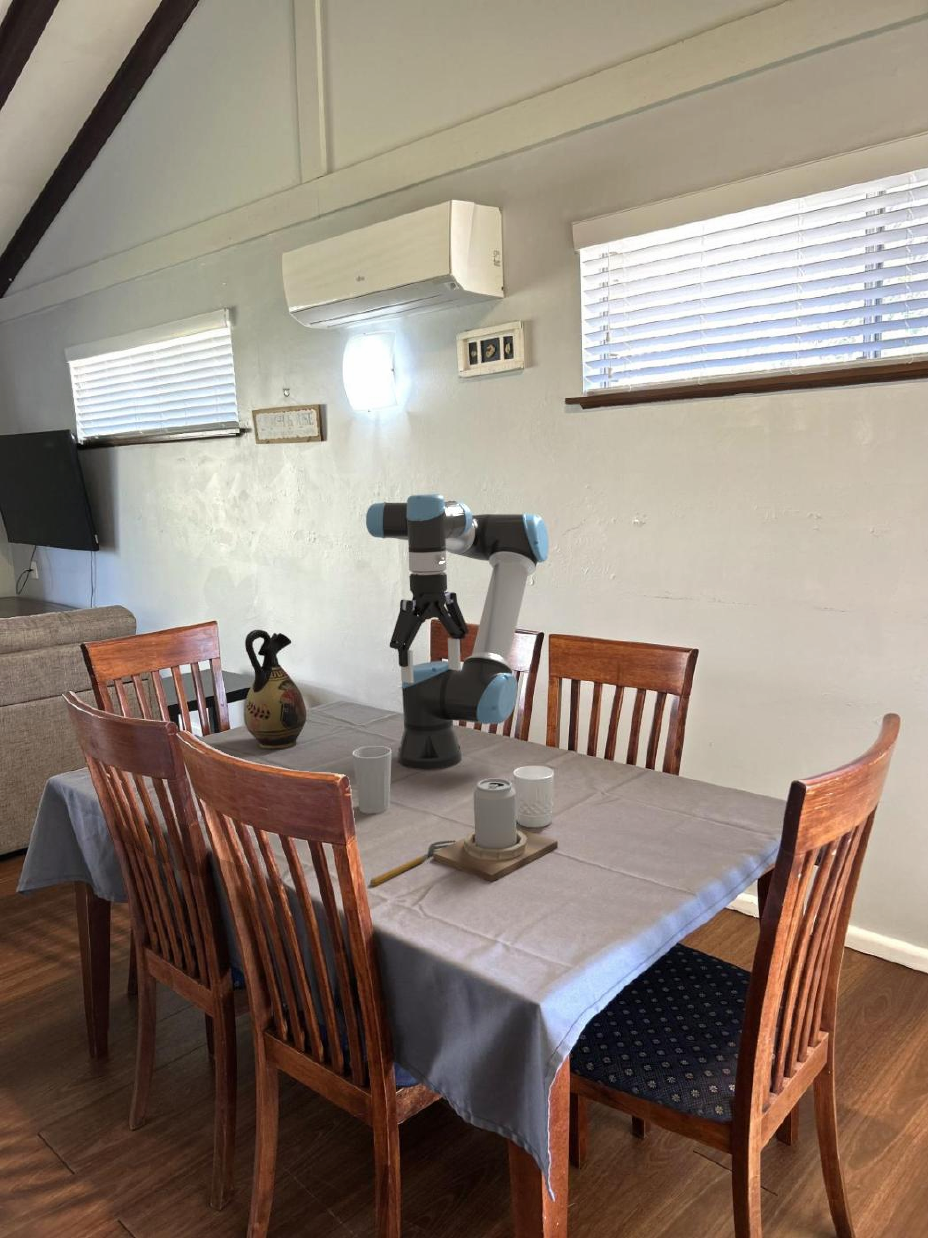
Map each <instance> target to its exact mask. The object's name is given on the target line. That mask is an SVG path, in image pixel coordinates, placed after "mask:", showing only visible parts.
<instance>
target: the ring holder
mask: <svg viewBox="0 0 928 1238" xmlns="http://www.w3.org/2000/svg"><path fill="white" fill-rule="evenodd" d="M516 831H517V843H516V845H515V846H513V847H511V848H505V849H499V850H495V849H483V848H480V847H478V846H477V845H476V844H475V830H473V831H471V832H469V833H467V834H466V836H465V837H464V838H462V839H459V840H458V841H456V842H453V843H450V844H448V845H449V846H447V847H444V848H441V849H440V850H439V849H437V850H438V851H436V852H434V853H432V858H433V860H435V861H437V862H440V863H442V864H445V865H448V866H451V867H454V868H456V869H458V870H461V871H464V872H465V873H468V874H471V875H474V876H476V877H479V878H482V879H484V880H487V881H490V882H494V881H496V880H499V879H500V878H502V877H504V876H506V875H508V874H510V873H511V872H513V871H515V870H517V869H519V868H521V867H523V866H524V865H527V864H528V863H531V862H532V861H534V860H537V859H538V858H540V857H542V856H544V855H546V854H548V853H549V852H551V851H553V850H555V849H558V844H559V843H558V840H555V839H553V838H549V837H546V836H543V835H540V834H537V833H533V832H530V831H528V830H524V829H523V828H522V829H521V828H519V827H516Z"/></svg>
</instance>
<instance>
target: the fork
mask: <svg viewBox="0 0 928 1238" xmlns="http://www.w3.org/2000/svg"><path fill="white" fill-rule="evenodd" d="M455 842H457V841H456V840H443V841H442V840H441V841H434V842H432V843H430V844H429V847H428V850H427V851H426V852H427V853H424V854H423V855H420V856H418V857H416V858H414V859H412V860H409V861H407V862H406V863H402V864H401V865H399V866H397V867H395V868H393V869H390V870H388V871H386V872H384V873H381V874H380V875H379V874H378V875H377V876H375V877H373V878H371V879H370V886H371V887H377V886H378V885H381V884H383V883H385V882H386V881H388V880H390V879H392V878H394V877H396V876H398V875H399V874H400V875H401V873H405V872H406V871H407V870H409V869H411V868H413V867H415V866H417V865H419V864H420V863H422V862H424V861H426V860H427V859H428V857H430V855H433V853H434V852H436V851H438V850H440V849H442V848H444V847H447V846H449V845H450V844H453V843H455Z"/></svg>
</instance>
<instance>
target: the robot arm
mask: <svg viewBox="0 0 928 1238" xmlns="http://www.w3.org/2000/svg"><path fill="white" fill-rule="evenodd" d="M365 526H366V528H367V529H366V530H367V531H368V534H369V535H370V536H372V537H373V538H381V539H398V540H403V541H407V543H408V545H407V546H408V547H407V548H408V570H409V572H411V573H410V574H409V576H408V578H409V590H410V592H411V594H412V599H401V600H400V602H399V611H398V612H399V613H398V616H397V619H396V623H395V626H394V629H393V632H392V635H391V639H390V642H389V648H390V649H395V650H397V653H398V665H399V667H400V673H401V674H400V675H401V678H400V679H401V692H402V695H401V696H402V711H403V713H402V714H403V733H402V736H401V740H400V744H399V745H400V746H399V747H398V749H397V761H398V763H399V764H400V765H401V766H403V767H405V768H409V769H413V770H436V769H444V768H450V767H451V766H454V765H457V764H458V763H460V761H462V758H463V757H462V755H463V754H462V747H461V746H460V744H459V740H458V737H457V734H456V731H455V728H454V721H458V722H467V723H476V724H481V725H488V724H493V725H498V724H501V723H504V722H505V721H506V720H508V718H509V717H510V716H511V714H512V713H513V711H514V708H515V705H516V702H517V698H518V692H517V690H518V685H519V684H518V681H517V678H516V676H515V675H514V674H513V669H512V668H511V665H509V660H510V656H511V651H512V647H513V642H514V638H515V634H516V633H515V632H516V631H517V630H516V629H517V625H518V619H519V616H520V613H521V612H520V610H521V607H522V603H523V597H524V593H525V590H526V589H525V588H526V585H527V579H528V577H529V576H530V575H533V574H534V573H535V572H536V569H537V564H538V563H544V562H546V560H547V558H548V556H549V547H550V546H549V535H548V529H547V526H546V524H545V521H544V520H543V518H542V517H541V516H540V515H539V514H532V513H531V514H529V513H525V512H524V513H521V514H514V513H513V514H512V513H509V514H501V513H497V514H495V513H494V514H492V513H491V514H490V513H486V514H485V513H483V514H472V511H471V509H470V508H469V507H468V506H467V505H466V504H465V503H464V502H462V501H456V500H449V501H445V498H444V496H443V495H442V494H440V493H439V494H438V493H437V494H435V493H433V494H431V493H429V494H428V493H426V494H411V495H410V496H409V497H407V500H406V502H386V501H383V502H378V503H377V502H376V503H373V504H371V505H370V506H369V507H368V509H367V511H366V515H365ZM447 552H448V553H450V554H453V555H458V556H461V557H466V558H470V559H474V560H479V561H483V562H484V561H488V562H489V565H490V566H491V567H492V571H491V572H492V573H491V576H490V580H489V584H488V588H487V591H486V597H485V601H484V604H483V609H482V612H481V616H480V621H479V625H478V629H477V633H476V638H475V641H474V646H473V650H472V654H471V655H469V656H467V657H466V658H465V659H464V660H463V664H462V666H461V653H462V640H465V638H466V635H468V633H469V627H468V625H467V623H466V620H465V618H464V615H463V613H462V610H461V608H460V606H459V604H458V603H459V602H458V598H457V597H458V595H457V593H456V592H451V591H447V590H448V575H447V573H446V572H444V571H446V570H447ZM433 618H435V619H436V618H437V620H438V621H439V622H440V623H441V625H442V627H444V629H445V631H446V632H447V633H448V634H449V636H450V637H448V638H447V649H448V650H447V651H448V653H447V654H448V661H445V660H439V661H438V660H437V661H427V662H423V663H418V664H414V660H413V659H414V658H413V656H414V655H413V650H412V649H410V648H411V646H412V644H413V642H414V640H415V639H416V636H417V634H418V632H419V630H420V628H421V626H422V625H423V624H424V623H426V620H431V619H433Z"/></svg>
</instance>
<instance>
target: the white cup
mask: <svg viewBox="0 0 928 1238" xmlns="http://www.w3.org/2000/svg"><path fill="white" fill-rule="evenodd" d="M512 775H513V788H514V789H515V792H516V823H518V824H519V825H521V826H524V827H527V828H543V827H545V826H548V825H550V824H551V823H552V814H553V813H552V811H553V808H554V806H553V805H554V804H553V803H554V789H555V787H554V783H555V781H554V780H555V772H554V770H553V769H552V768H550V767H547V766H544V765H543V766H542V765H526V766H525V765H524V766H521V767H518V768H516V769H514V770H513V773H512Z"/></svg>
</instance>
